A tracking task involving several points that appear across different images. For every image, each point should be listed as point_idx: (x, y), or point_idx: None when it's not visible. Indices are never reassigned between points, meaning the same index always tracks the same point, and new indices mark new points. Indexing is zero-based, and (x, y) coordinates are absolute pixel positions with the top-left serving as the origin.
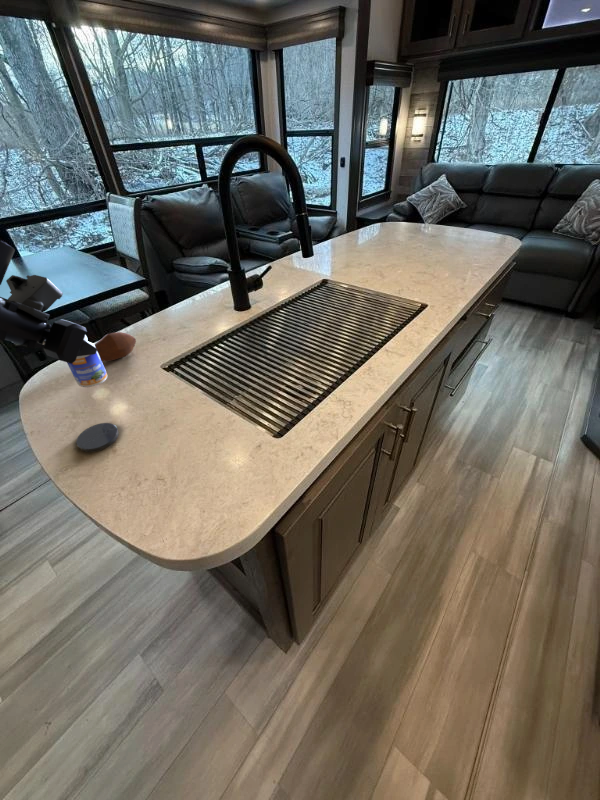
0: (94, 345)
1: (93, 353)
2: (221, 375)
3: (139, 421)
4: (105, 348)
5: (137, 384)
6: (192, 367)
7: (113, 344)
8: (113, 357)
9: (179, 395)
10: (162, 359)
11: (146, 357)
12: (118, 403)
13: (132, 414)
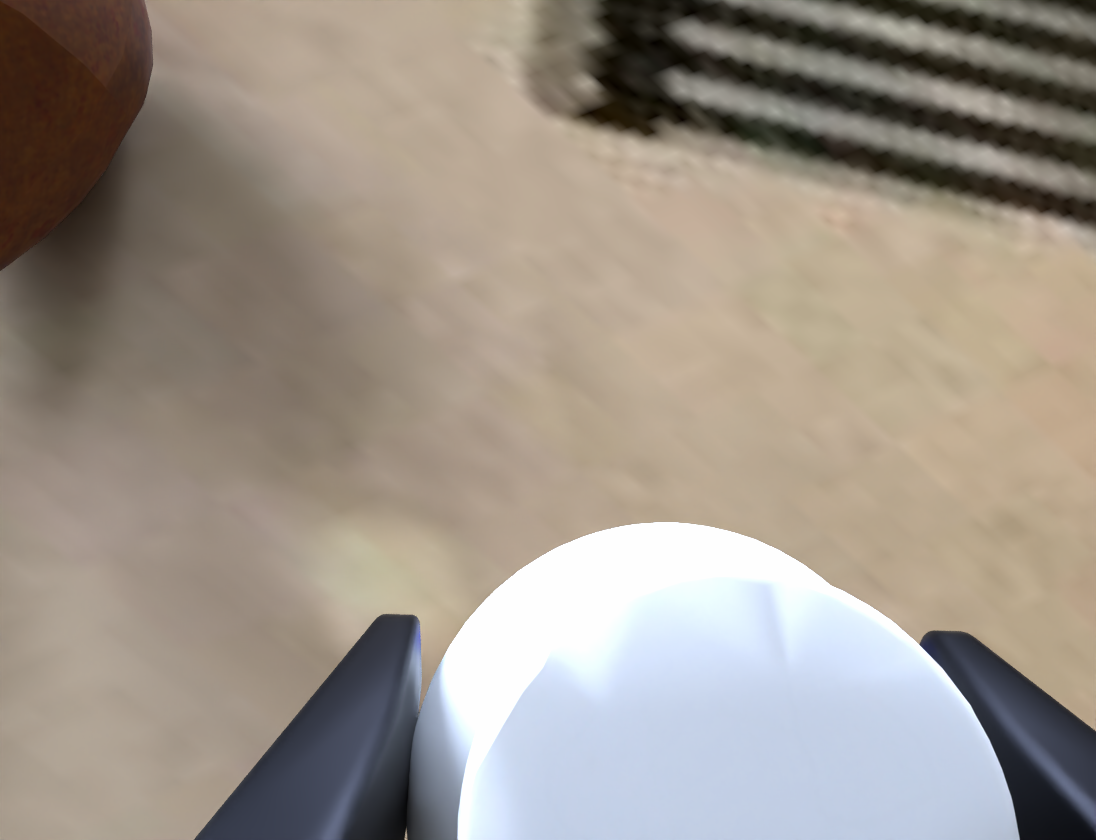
0: (792, 558)
1: None
2: (1055, 25)
3: None
4: (3, 140)
5: (564, 365)
6: (781, 22)
7: (45, 63)
8: (95, 178)
9: (978, 338)
10: (468, 21)
11: (314, 46)
12: None
13: None
